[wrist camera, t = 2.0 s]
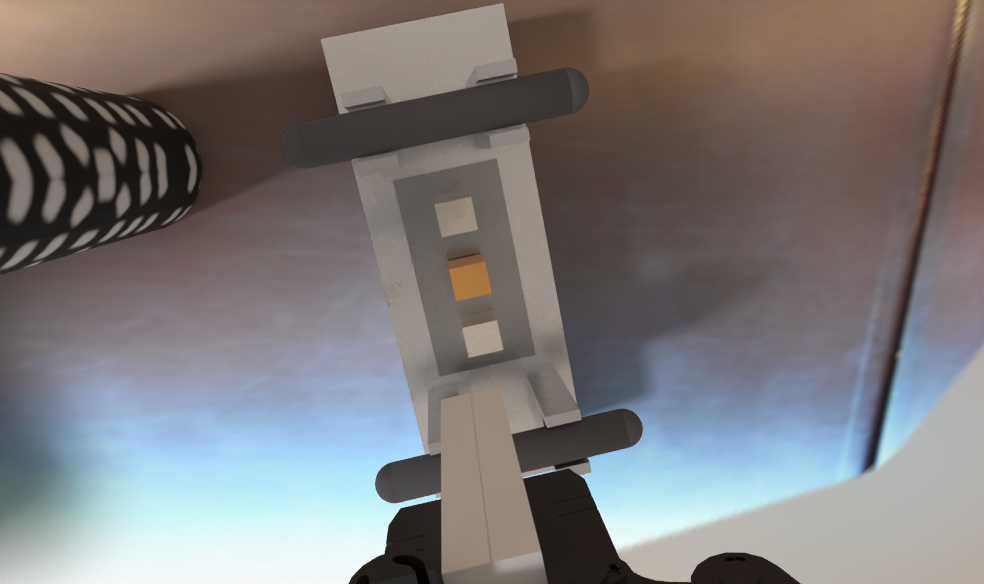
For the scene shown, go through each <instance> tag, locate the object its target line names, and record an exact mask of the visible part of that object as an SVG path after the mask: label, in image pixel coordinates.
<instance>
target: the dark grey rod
mask: <svg viewBox="0 0 984 584" xmlns="http://www.w3.org/2000/svg"><path fill="white" fill-rule="evenodd" d="M588 95H589V86H588V82H587V80H586V78H585V77H584V75H583V74H582V73H581V72H579V71H577V70H575V69H572V68H563V69H558V70H553V71H548V72H543V73H538V74H533V75H529V76H524V77H519V78H514V79H509V80H504V81H499V82H494V83H490V84H485V85H480V86H475V87H470V88H465V89H460V90H455V91H451V92H446V93H441V94H436V95H431V96H426V97H421V98H416V99H412V100H407V101H402V102H397V103H392V104H387V105H382V106H377V107H373V108H368V109H363V110H358V111H353V112H348V113H343V114H338V115H334V116H329V117H324V118H319V119H314V120H309V121H304V122H299V123H296V124H293V125H291V126H290V127H289V128H287V129H286V131H285V132H284V134H283V136H282V140H281V149H282V152H283V154H284V156H285V158H286V159H287V160H288V161H289V162H290V163H291V164H293V165H295V166H296V167H300V168H306V169H307V168H314V167H318V166H323V165H328V164H333V163H337V162H342V161H347V160H352V159H357V158H361V157H366V156H371V155H376V154H381V153H385V152H390V151H395V150H400V149H404V148H409V147H414V146H419V145H424V144H428V143H433V142H438V141H443V140H447V139H452V138H457V137H462V136H467V135H471V134H476V133H481V132H486V131H490V130H495V129H500V128H505V127H510V126H514V125H519V124H524V123H529V122H534V121H538V120H543V119H548V118H553V117H557V116H562V115H567V114H571V113H574V112H576V111H578V110H579V109H581V108H582V107H583V105H584V104H585V103H586V101H587V98H588Z"/></svg>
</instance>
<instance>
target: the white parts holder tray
mask: <svg viewBox="0 0 984 584" xmlns="http://www.w3.org/2000/svg"><path fill="white" fill-rule="evenodd" d="M321 43H322V47H323V51H324V55H325V59H326V63H327V67H328V71H329V75H330V79H331V83H332V87H333V91H334V94H335V98H336V102H337V106H338V110H339V114H343V113H348V112H353V111H358V110H363V109H368V108H373V107H377V106H382V105H387V104H392V103H397V102H402V101H407V100H412V99H416V98H421V97H426V96H431V95H436V94H441V93H446V92H451V91H455V90H460V89H465V88H470V87H475V86H480V85H485V84H490V83H494V82H499V81H504V80H509V79H514V78H517V75H516V73H517V72H518V70H517V64H516V59H515V58H513V54H512V48H511V43H510V37H509V32H508V26H507V21H506V16H505V10H504V5H503V3H500V4H495V5H490V6H485V7H480V8H475V9H470V10H465V11H460V12H455V13H450V14H445V15H440V16H435V17H430V18H425V19H420V20H415V21H410V22H405V23H399V24H394V25H389V26H384V27H379V28H374V29H369V30H364V31H359V32H354V33H349V34H344V35H339V36H334V37H329V38H324V39H321ZM529 141H530V135H529V130H528V127H527V128H526V124H525V123H524V124H519V125H514V126H510V127H505V128H500V129H495V130H490V131H486V132H481V133H476V134H471V135H467V136H462V137H457V138H452V139H447V140H443V141H438V142H433V143H428V144H424V145H419V146H414V147H409V148H404V149H400V150H395V151H390V152H385V153H381V154H376V155H371V156H366V157H361V158H357V159H352V160H351V162H352V166H353V170H354V174H355V178H356V182H357V186H358V189H359V193H360V197H361V201H362V205H363V209H364V213H365V217H366V221H367V225H368V229H369V233H370V237H371V241H372V245H373V249H374V253H375V257H376V261H377V265H378V269H379V273H380V277H381V280H382V284H383V288H384V292H385V296H386V300H387V304H388V308H389V312H390V316H391V320H392V324H393V328H394V332H395V336H396V340H397V344H398V348H399V352H400V356H401V360H402V364H403V368H404V372H405V375H406V379H407V383H408V387H409V391H410V395H411V399H412V403H413V407H414V411H415V415H416V419H417V423H418V427H419V431H420V435H421V439H422V443H423V447H424V451H425V455H426V454H430V455H435V454H439V453H441V399H445V398H450V397H455V396H459V395H464V394H468V393H473V392H477V391H482V390H486V389H491V388H495V387H500V390H501V394H502V398H503V402H504V406H505V410H506V414H507V418H508V422H509V426H510V430H511V434H515V433H519V432H523V431H527V430H532V429H536V428H540V427H544V426H547V428H549V427H553V426H558V425H562V424H566V423H570V422H575V421H579V420H582V419H581V413H580V409H579V407H578V405H577V401H576V396H575V390H574V385H573V379H572V374H571V368H570V363H569V358H568V352H567V347H566V341H565V336H564V330H563V325H562V320H561V314H560V309H559V303H558V298H557V292H556V287H555V282H554V276H553V271H552V265H551V260H550V254H549V249H548V244H547V238H546V233H545V227H544V222H543V216H542V211H541V206H540V200H539V195H538V189H537V184H536V178H535V173H534V168H533V162H532V157H531V151H530V146H529ZM478 254H482V256H483V258H484V260H485V263H486V267H487V272H488V277H489V282H490V286H491V291H492V293H491V294H486V295H482V296H477V297H473V298H468V299H464V300H459V301H456V298H455V294H454V290H453V285H452V281H451V276H450V272H449V267H448V262H447V261H451V260H455V259H460V258H464V257H469V256H474V255H478ZM568 468H569V469H571V470H572V471H574V472H575V473H576V474H578V475H582V474H586V473H590V472H591V468H590V462H589V460H588V458H583V459H579V460H575V461H570V462H566V463H562V464H558V465H554V466H550V467H545V468H541V469H537V470H533V471H529V472H525V473H522V477H525V476H530V475H534V474H538V473H542V472H546V471H550V470H554V472H555V471H559V470H564V469H568ZM438 497H441V493H437V494H436V498H438Z"/></svg>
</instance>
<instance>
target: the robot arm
mask: <svg viewBox="0 0 984 584" xmlns="http://www.w3.org/2000/svg"><path fill="white" fill-rule="evenodd" d="M386 544H387V546H386V549H385V554H384V555H381V556H378V557H376V558H375V559H373V560H371V561H370V562H368V563H367V564H365V565H363V566H362V567H361V568H360V569H359V570H358V571H357V572H356V573H355V574H354V575H353V576H352V578H351V580H350V582H349V584H800V583H799V582H798V581H796V580H795V579H794V578H793V577H791V576H790V575H789V574H787V573H786V572H785V571H784V570H782V569H781V568H780V567H778V566H777V565H775V564H773V563H772V562H770V561H768V560H766V559H764V558H763V557H759V556H755V555H751V554H747V553H723V554H719V555H715V556H712V557H709V558H707V559H706V560H704V561H703V562H701V563H700V564H698V565H697V567H696V569H695V570H694V572H693V574H692V575H691V582H664V581H655V580H652V579H648V578H644V577H642V576H640V575H638V574H636V573H634V572H633V571H632V570H631V568H630V567H629V566H628V565H627V563H625V562H624V561H622V560H621V559H620V558H619V556H618V554H617V552H616V550H615V547H614V545H613V543H612V540H611V538H610V536H609V534H608V531H607V529H606V527H605V525H604V522H603V520H602V518H601V515H600V513H599V511H598V510H597V506H596V504H595V502H594V500H593V497H592V496H591V493H590V490H589V488H588V486H587V484H586V481H585V479H584V478H582V477H581V476H579V475H578V474H576V473H575V472H574V471H572V470H571V469H569V468H568V469H564V470H559V471H555V472H551V473H546V474H542V475H537V476H533V477H529V478H524V479H523V477H522V473H521V470H520V466H519V462H518V458H517V454H516V450H515V446H514V442H513V438H512V434H511V430H510V426H509V422H508V418H507V414H506V410H505V406H504V402H503V398H502V394H501V390H500V387H495V388H491V389H486V390H482V391H477V392H473V393H468V394H464V395H459V396H455V397H450V398H445V399H441V499H440V500H435V501H431V502H427V503H422V504H418V505H413V506H409V507H405V508H401V509H400V510H399V512H398V513H397V514H396V516H395V517H394V519H393V520H392V522H391V523H390V524H389V527H388V534H387V541H386Z"/></svg>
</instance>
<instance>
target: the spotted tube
mask: <svg viewBox="0 0 984 584" xmlns="http://www.w3.org/2000/svg"><path fill="white" fill-rule="evenodd" d="M201 182H202V165H201V159H200V154H199V151H198V149H197V146H196V143H195V141H194V140H193V138H192V136H191V135H190V133H189V131H188V130H187V129H186V127H185V126H184V125H183V124H182V123H181V122H180V121H179V119H177V118H176V117H175V116H174V115H172V114H171V113H170V112H169V111H167V110H166V109H164V108H162V107H160V106H158V105H156V104H154V103H152V102H149V101H146V100H143V99H138V98H133V97H128V96H122V95H117V94H111V93H106V92H100V91H95V90H90V89H84V88H79V87H73V86H68V85H63V84H57V83H52V82H46V81H41V80H35V79H30V78H25V77H19V76H14V75H8V74H3V73H0V275H1V274H5V273H8V272H12V271H15V270H19V269H22V268H26V267H29V266H33V265H36V264H40V263H43V262H47V261H50V260H53V259H57V258H60V257H64V256H67V255H71V254H74V253H78V252H81V251H85V250H88V249H92V248H95V247H99V246H102V245H105V244H109V243H112V242H116V241H119V240H123V239H126V238H130V237H133V236H137V235H140V234H144V233H147V232H151V231H154V230H158V229H161V228H164V227H166V226H168V225H170V224H172V223H174V222H176V221H177V220H179V219H180V218H181V217H182V216H184V215H185V214H186V213H187V211H188V210H189V209H190V208H191V206H192V205H193V204H194V201H195V199H196V197H197V195H198V193H199V189H200V185H201Z"/></svg>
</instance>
